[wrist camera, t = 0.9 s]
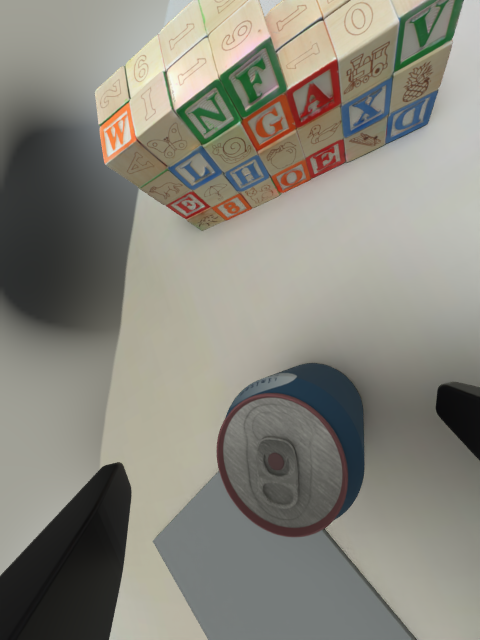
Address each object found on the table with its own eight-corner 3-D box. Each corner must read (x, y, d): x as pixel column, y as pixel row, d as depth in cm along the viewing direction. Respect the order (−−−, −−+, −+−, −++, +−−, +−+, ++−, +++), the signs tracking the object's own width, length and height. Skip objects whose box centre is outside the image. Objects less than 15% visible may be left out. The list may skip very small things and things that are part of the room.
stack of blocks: (403, 63, 21) (449, -243, 10) (429, 126, 20) (512, -140, 9) (192, 184, 30) (90, 88, 19) (201, 233, 29) (99, 163, 17)
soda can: (275, 362, 24) (203, 378, 13) (359, 361, 21) (357, 382, 10) (279, 441, 23) (206, 529, 12) (366, 452, 20) (373, 581, 9)
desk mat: (460, 693, 17) (463, 701, 16) (296, 784, 20) (295, 793, 20) (249, 439, 24) (247, 440, 24) (155, 538, 28) (152, 541, 27)
